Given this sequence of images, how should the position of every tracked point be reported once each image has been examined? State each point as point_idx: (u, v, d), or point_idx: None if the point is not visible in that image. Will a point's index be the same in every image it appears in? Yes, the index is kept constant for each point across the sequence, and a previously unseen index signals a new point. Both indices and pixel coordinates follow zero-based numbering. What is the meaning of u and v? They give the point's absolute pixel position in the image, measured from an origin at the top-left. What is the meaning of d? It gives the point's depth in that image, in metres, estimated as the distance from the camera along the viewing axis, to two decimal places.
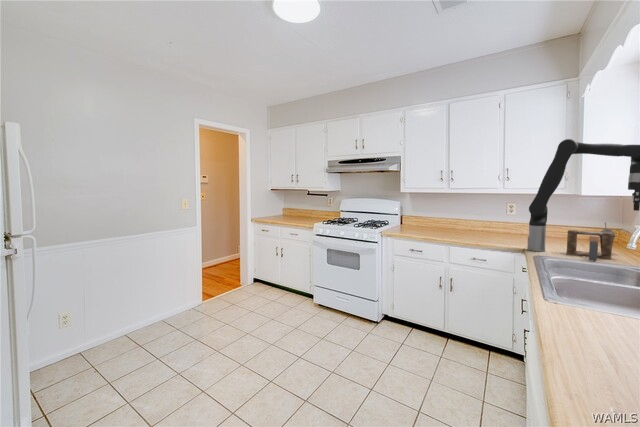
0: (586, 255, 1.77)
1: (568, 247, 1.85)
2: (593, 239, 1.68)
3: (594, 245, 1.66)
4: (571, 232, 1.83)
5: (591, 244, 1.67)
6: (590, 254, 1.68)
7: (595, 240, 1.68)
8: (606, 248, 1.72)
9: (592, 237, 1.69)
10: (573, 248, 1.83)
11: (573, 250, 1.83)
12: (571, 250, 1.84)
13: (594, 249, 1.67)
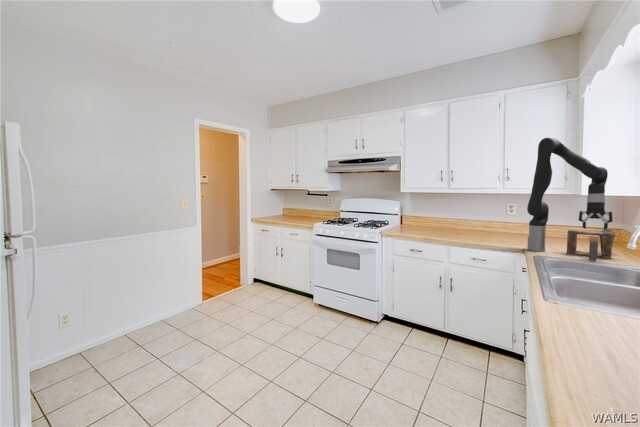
0: (586, 255, 1.77)
1: (568, 247, 1.85)
2: (593, 239, 1.68)
3: (594, 245, 1.66)
4: (571, 232, 1.83)
5: (591, 244, 1.67)
6: (590, 254, 1.68)
7: (595, 240, 1.68)
8: (606, 248, 1.72)
9: (592, 237, 1.69)
10: (573, 248, 1.83)
11: (573, 250, 1.83)
12: (571, 250, 1.84)
13: (594, 249, 1.67)
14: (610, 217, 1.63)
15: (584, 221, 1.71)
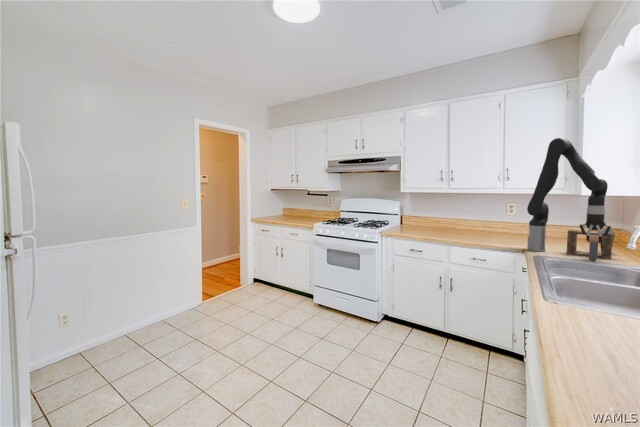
0: (586, 255, 1.77)
1: (568, 247, 1.85)
2: (593, 239, 1.68)
3: (594, 245, 1.66)
4: (571, 232, 1.83)
5: (591, 244, 1.67)
6: (590, 254, 1.68)
7: (595, 240, 1.68)
8: (606, 248, 1.72)
9: (592, 237, 1.69)
10: (573, 248, 1.83)
11: (573, 250, 1.83)
12: (571, 250, 1.84)
13: (594, 249, 1.67)
14: (606, 231, 1.65)
15: (588, 235, 1.70)
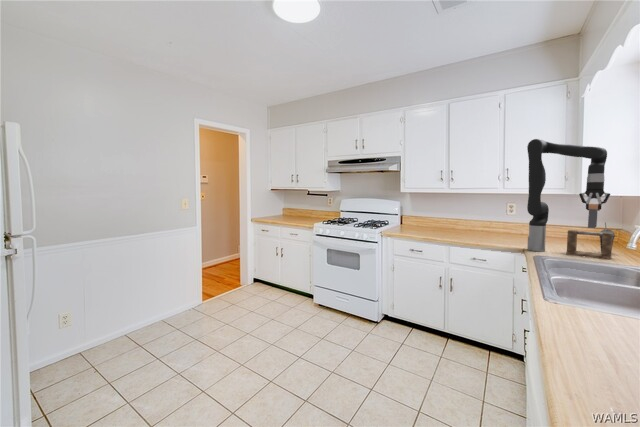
0: (586, 255, 1.77)
1: (568, 247, 1.85)
2: (592, 207, 1.71)
3: (593, 212, 1.69)
4: (571, 232, 1.83)
5: (590, 212, 1.70)
6: (589, 222, 1.70)
7: (594, 208, 1.70)
8: (606, 248, 1.72)
9: (591, 205, 1.71)
10: (573, 248, 1.83)
11: (573, 250, 1.83)
12: (571, 250, 1.84)
13: (593, 216, 1.69)
14: (606, 198, 1.67)
15: (587, 203, 1.73)
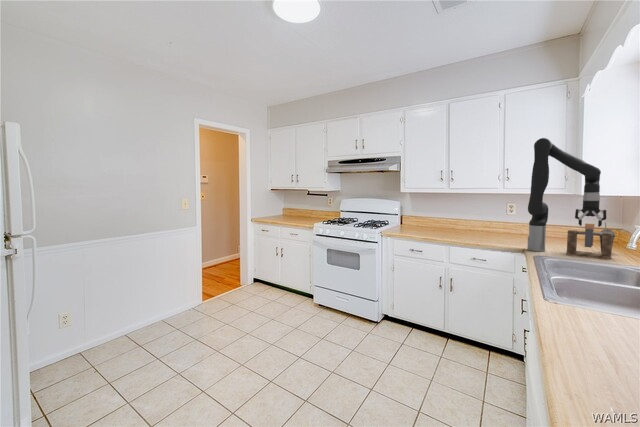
0: (586, 255, 1.77)
1: (568, 247, 1.85)
2: (588, 227, 1.78)
3: (589, 232, 1.76)
4: (571, 232, 1.83)
5: (587, 231, 1.77)
6: (586, 241, 1.77)
7: (590, 228, 1.77)
8: (606, 248, 1.72)
9: (588, 225, 1.78)
10: (573, 248, 1.83)
11: (573, 250, 1.83)
12: (571, 250, 1.84)
13: (589, 236, 1.76)
14: (604, 215, 1.73)
15: (580, 219, 1.81)
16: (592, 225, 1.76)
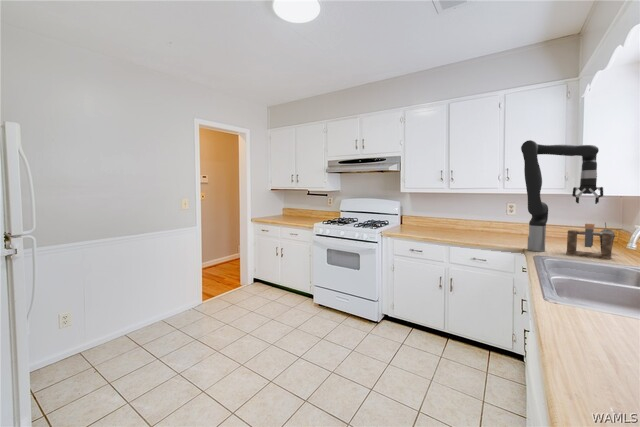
0: (586, 255, 1.77)
1: (568, 247, 1.85)
2: (588, 227, 1.78)
3: (589, 232, 1.76)
4: (571, 232, 1.83)
5: (587, 231, 1.77)
6: (586, 241, 1.77)
7: (590, 228, 1.77)
8: (606, 248, 1.72)
9: (588, 225, 1.78)
10: (573, 248, 1.83)
11: (573, 250, 1.83)
12: (571, 250, 1.84)
13: (589, 236, 1.76)
14: (601, 192, 1.77)
15: (577, 196, 1.85)
16: (592, 225, 1.76)
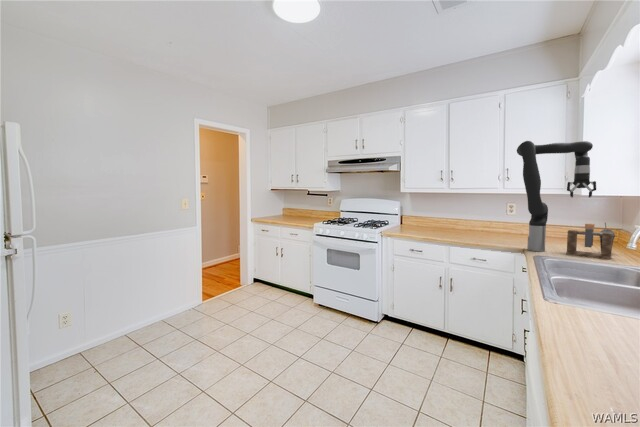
0: (586, 255, 1.77)
1: (568, 247, 1.85)
2: (588, 227, 1.78)
3: (589, 232, 1.76)
4: (571, 232, 1.83)
5: (587, 231, 1.77)
6: (586, 241, 1.77)
7: (590, 228, 1.77)
8: (606, 248, 1.72)
9: (588, 225, 1.78)
10: (573, 248, 1.83)
11: (573, 250, 1.83)
12: (571, 250, 1.84)
13: (589, 236, 1.76)
14: (594, 186, 1.84)
15: (571, 191, 1.92)
16: (592, 225, 1.76)
